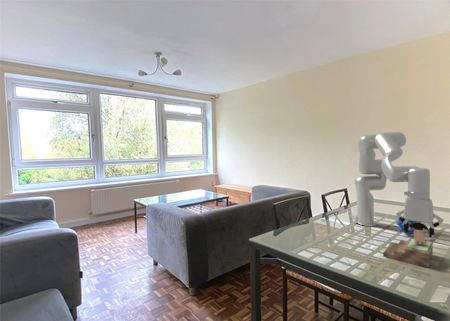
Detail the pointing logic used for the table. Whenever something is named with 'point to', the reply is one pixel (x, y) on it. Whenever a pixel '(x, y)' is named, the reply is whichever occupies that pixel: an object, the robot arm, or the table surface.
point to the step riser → (410, 252)
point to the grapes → (401, 228)
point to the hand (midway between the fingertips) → (418, 233)
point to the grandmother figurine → (419, 232)
